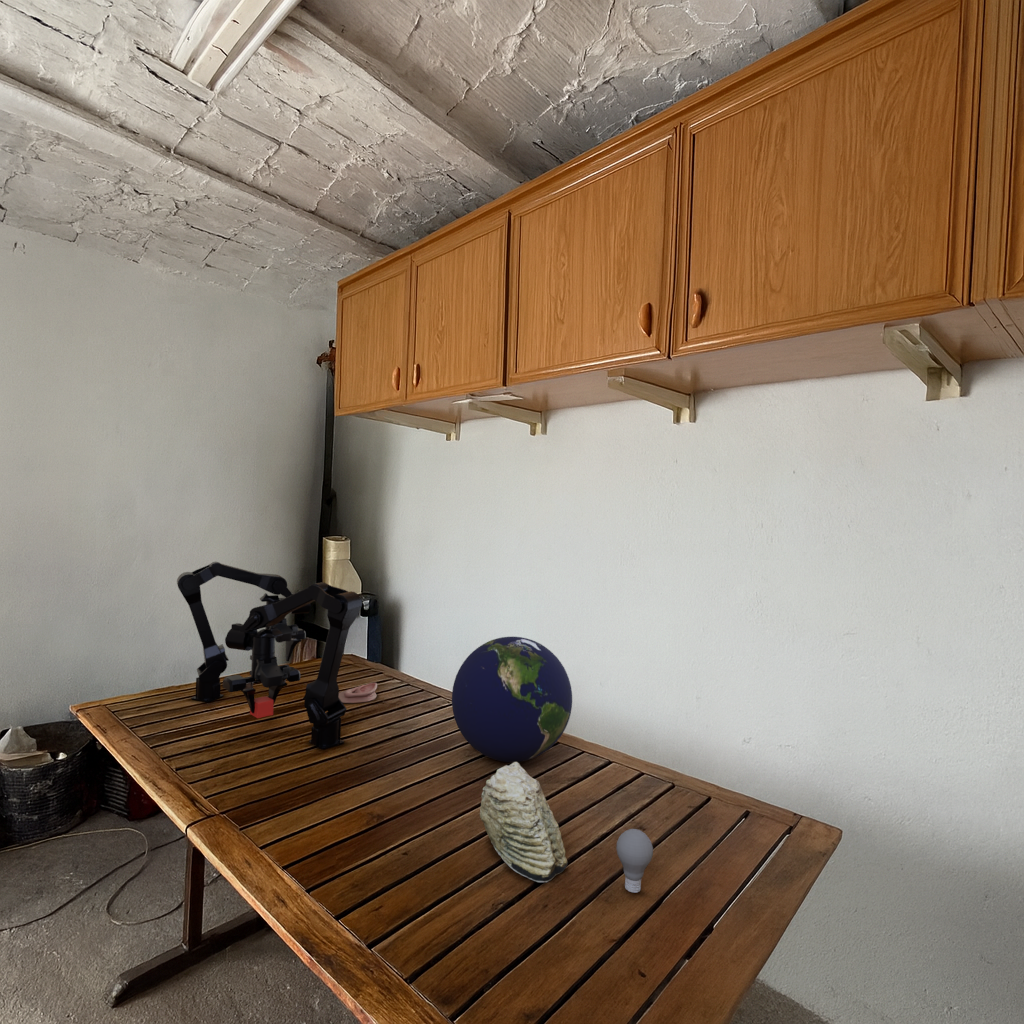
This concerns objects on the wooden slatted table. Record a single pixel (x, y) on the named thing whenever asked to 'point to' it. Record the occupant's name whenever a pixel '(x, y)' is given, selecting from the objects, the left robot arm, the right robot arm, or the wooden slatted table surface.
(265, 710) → the block
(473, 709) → the globe
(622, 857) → the light bulb
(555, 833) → the fossil
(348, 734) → the wooden slatted table surface
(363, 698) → the anatomical model
